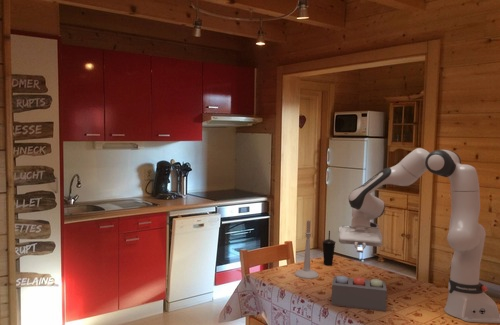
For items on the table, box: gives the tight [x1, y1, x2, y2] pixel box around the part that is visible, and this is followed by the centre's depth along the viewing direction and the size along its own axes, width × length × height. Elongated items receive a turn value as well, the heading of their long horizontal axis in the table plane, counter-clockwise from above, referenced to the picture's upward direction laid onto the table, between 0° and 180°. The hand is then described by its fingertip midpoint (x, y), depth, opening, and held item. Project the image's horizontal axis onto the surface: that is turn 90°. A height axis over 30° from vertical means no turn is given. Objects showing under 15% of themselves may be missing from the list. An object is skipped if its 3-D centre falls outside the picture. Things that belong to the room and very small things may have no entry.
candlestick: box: [294, 219, 319, 280], centre depth 230 cm, size 13×13×30 cm
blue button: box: [336, 275, 348, 284], centre depth 194 cm, size 5×5×4 cm
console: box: [330, 276, 388, 312], centre depth 192 cm, size 23×12×9 cm, turn 76°
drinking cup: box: [321, 230, 336, 267], centre depth 251 cm, size 8×8×20 cm
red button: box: [353, 276, 366, 286], centre depth 192 cm, size 5×5×4 cm
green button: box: [370, 278, 383, 288], centre depth 190 cm, size 5×5×4 cm
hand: (359, 251), depth 202 cm, fingers closed
